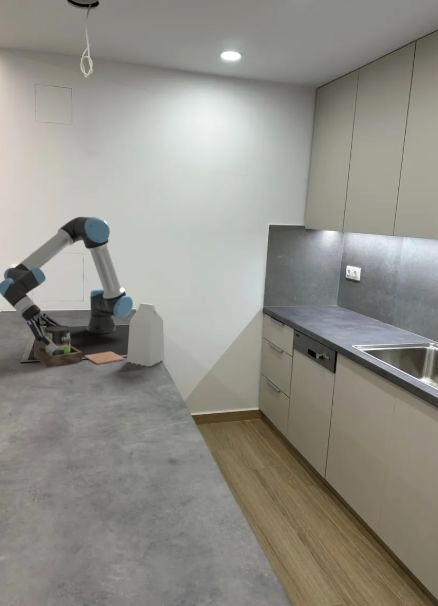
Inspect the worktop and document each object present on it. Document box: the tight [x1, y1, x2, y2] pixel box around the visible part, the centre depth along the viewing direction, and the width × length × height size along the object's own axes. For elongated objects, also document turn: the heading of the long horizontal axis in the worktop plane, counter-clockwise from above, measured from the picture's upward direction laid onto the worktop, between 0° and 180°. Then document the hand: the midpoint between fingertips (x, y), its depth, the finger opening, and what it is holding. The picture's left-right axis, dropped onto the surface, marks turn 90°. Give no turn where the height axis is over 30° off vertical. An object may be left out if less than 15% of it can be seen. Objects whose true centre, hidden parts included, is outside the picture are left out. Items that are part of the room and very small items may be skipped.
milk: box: [126, 302, 165, 367], centre depth 203 cm, size 12×12×26 cm
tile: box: [84, 351, 125, 365], centre depth 206 cm, size 13×13×1 cm
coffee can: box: [44, 325, 71, 356], centre depth 200 cm, size 10×10×14 cm
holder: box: [33, 344, 83, 368], centre depth 201 cm, size 15×15×4 cm
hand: (62, 345), depth 200 cm, fingers open, 13 cm apart
